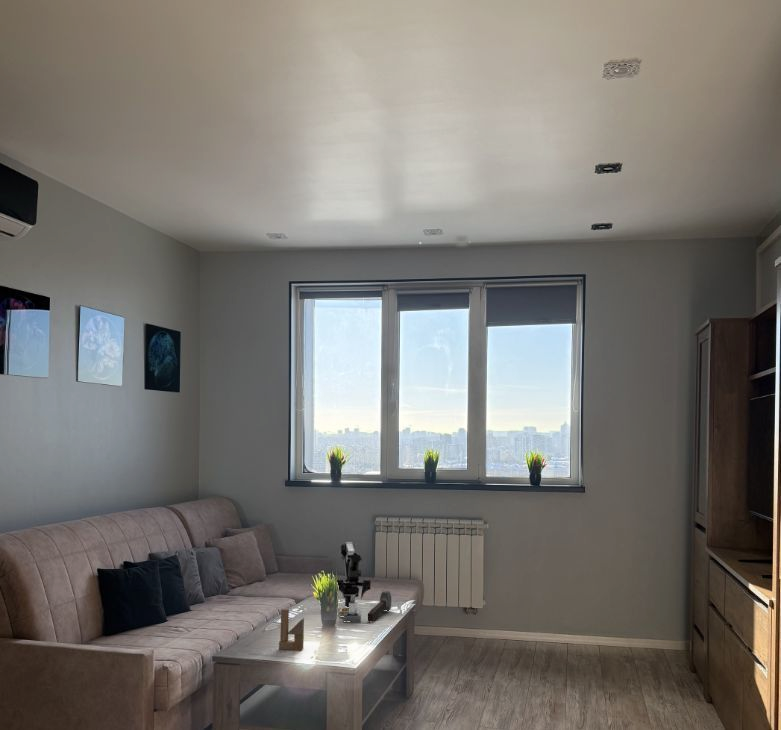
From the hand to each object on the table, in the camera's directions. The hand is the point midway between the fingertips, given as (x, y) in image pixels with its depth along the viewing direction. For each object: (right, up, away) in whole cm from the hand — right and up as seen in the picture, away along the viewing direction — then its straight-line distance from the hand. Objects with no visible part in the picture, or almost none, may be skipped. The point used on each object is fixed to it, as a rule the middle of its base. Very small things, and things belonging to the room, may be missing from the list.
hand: (353, 597), depth 427 cm
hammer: (+14, -12, +6) cm, 19 cm away
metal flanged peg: (0, -11, -5) cm, 12 cm away
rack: (-3, -11, +5) cm, 13 cm away
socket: (0, -11, -5) cm, 12 cm away
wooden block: (-26, -6, -61) cm, 67 cm away
